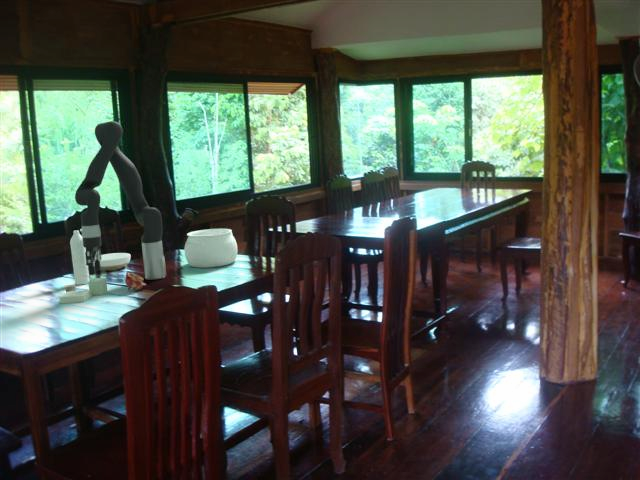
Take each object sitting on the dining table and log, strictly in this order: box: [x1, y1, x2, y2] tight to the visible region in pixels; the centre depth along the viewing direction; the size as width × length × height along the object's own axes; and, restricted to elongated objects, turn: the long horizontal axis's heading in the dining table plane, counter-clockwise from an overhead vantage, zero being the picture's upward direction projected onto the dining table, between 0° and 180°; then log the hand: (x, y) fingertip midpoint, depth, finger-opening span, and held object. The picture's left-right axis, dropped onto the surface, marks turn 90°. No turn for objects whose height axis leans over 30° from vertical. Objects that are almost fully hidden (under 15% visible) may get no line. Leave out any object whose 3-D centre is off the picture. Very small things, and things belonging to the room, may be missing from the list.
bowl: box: [94, 252, 132, 271], centre depth 350 cm, size 20×20×6 cm
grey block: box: [64, 283, 77, 293], centre depth 296 cm, size 4×4×4 cm
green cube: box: [87, 277, 108, 296], centre depth 296 cm, size 6×6×6 cm
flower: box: [124, 271, 147, 292], centre depth 297 cm, size 10×9×8 cm
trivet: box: [59, 289, 93, 304], centre depth 287 cm, size 10×10×2 cm
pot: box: [184, 228, 238, 269], centre depth 345 cm, size 29×26×16 cm
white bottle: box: [69, 228, 91, 286], centre depth 317 cm, size 9×6×25 cm
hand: (95, 272), depth 295 cm, fingers open, 8 cm apart
